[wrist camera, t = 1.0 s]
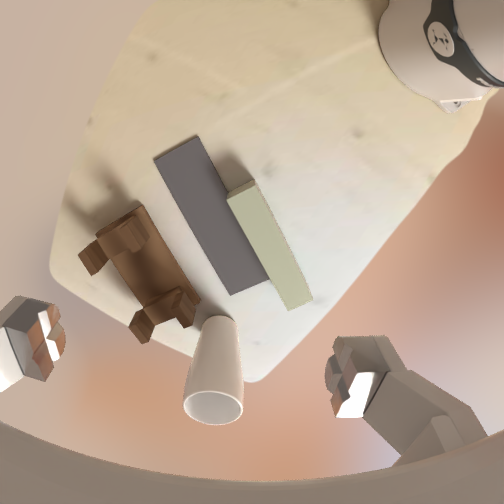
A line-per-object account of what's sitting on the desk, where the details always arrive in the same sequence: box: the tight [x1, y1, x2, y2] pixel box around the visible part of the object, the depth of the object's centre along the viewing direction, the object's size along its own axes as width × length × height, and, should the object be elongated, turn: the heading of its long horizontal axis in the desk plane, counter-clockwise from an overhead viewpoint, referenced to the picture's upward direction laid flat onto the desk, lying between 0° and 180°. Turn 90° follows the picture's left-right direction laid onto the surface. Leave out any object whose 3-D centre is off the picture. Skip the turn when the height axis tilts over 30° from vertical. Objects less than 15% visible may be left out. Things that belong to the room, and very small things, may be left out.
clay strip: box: [226, 179, 313, 311], centre depth 37 cm, size 16×4×4 cm, turn 27°
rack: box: [78, 205, 201, 344], centre depth 37 cm, size 8×15×6 cm, turn 26°
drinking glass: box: [183, 315, 244, 425], centre depth 37 cm, size 7×7×15 cm
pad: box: [154, 137, 270, 296], centre depth 37 cm, size 6×20×1 cm, turn 25°
